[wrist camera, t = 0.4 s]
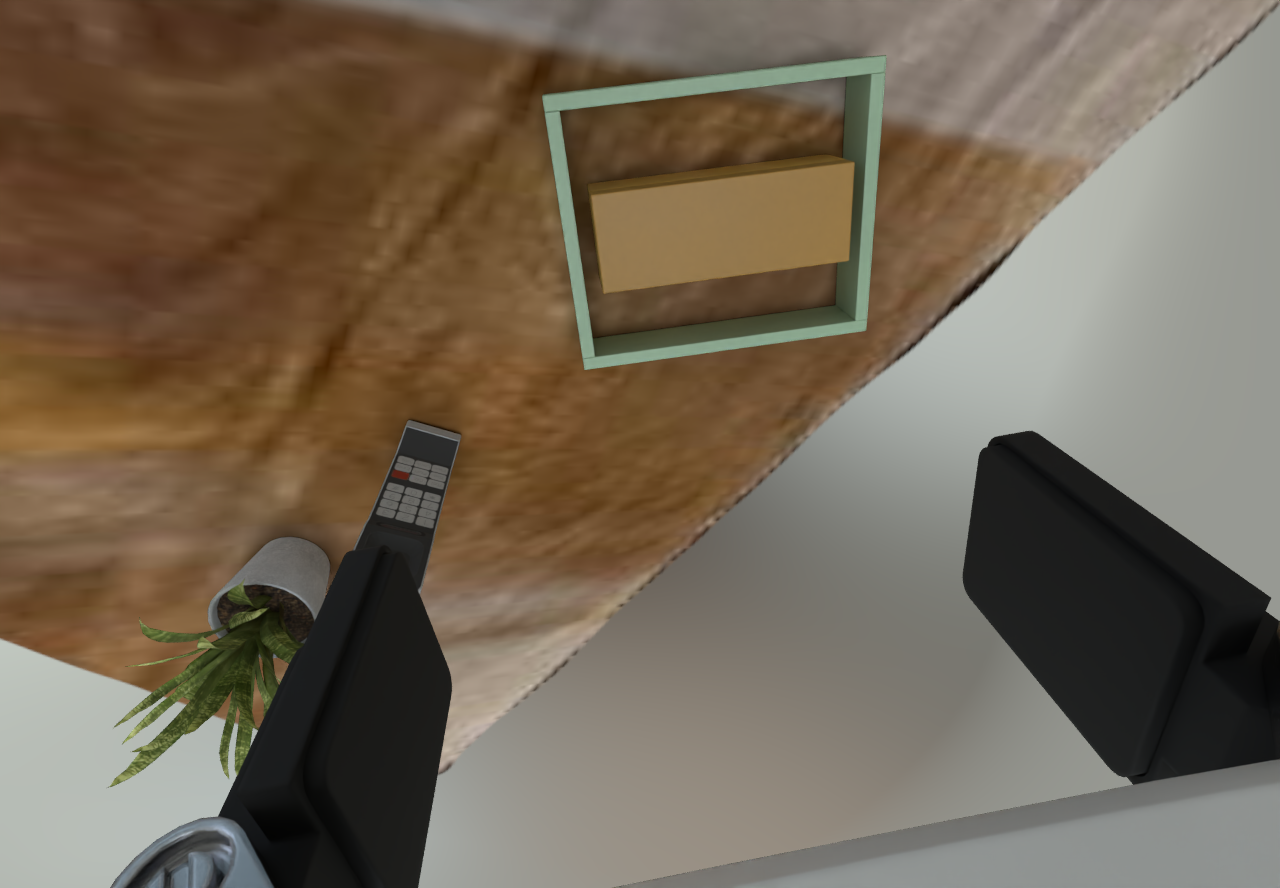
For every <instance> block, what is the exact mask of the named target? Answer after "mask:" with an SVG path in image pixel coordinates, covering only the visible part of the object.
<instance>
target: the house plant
mask: <svg viewBox="0 0 1280 888" xmlns="http://www.w3.org/2000/svg"><path fill="white" fill-rule="evenodd" d="M329 572H330V563H329V560H328V557H327V556H326V554H325V553H324V551H323V550H322V549H320V548H319V547H318V546H317V545H315V544H313V543H312V542H310V541H307V540H304V539H301V538H295V537H282V538H278V539H275V540H272V541H270V542H269V543H267V544H265V545H264V547H263V548H262V549H261V550H260V551H259V552H258V553H257V554H256V555H255V556H254V557H253V558H252V559H251V560H250V561H249V562H248V563H247V564H246V565H245V566H244V567H243V568H242V569H241V570H240V571H239V572H238V573H237V574H236V575H235V576H234V577H233V578H232V579H231V580H230V581H229V582H228V583H227V584H226V585H225V586H224V587H223V588H222V589H221V590H220V591H219V592H218V593H217V594H216V596H215V597H214V598H213V599H212V600H211V602H210V605H209V608H208V621H209V624H210V626H211V628H212V630H213V631H208V632H204V633H199V634H184V633H173V632H166V631H161V630H157V629H152V628H148V627H147V626H146V625H144V624H143V623H141V621H140V626H141V629H142V632H143V634H144V635H145V636H147V637H148V638H150V639H152V640H155V641H158V642H167V643H170V642H188V641H194V640H198V639H199V641H198V644H197V647H198V648H200V649H198V650H195V651H193V652H191V653H188V654H185V655H181V656H177V657H173V658H170V659H166V660H162V661H158V662H153V663H147V664H140V665H133V666H142V665H154V664H158V663H162V662H165V661H169V660H173V659H177V658H182V657H186V656H189V655H193V654H196V653H198V652H201V651H203V650H206V649H208V648H210V649H209V650H208V651H206V652H205V653H204V654H202V655H201V656H199V657H198V658H197V659H195V660H194V661H193V662H191V663H190V664H189V665H188V666H187V668H186V670H185V671H184V672H182V673H181V674H179V675H178V676H176V677H175V678H173V679H172V680H170V681H168V682H167V683H165V684H164V685H163V686H161V687H160V688H158V689H157V690H155V691H154V692H153V693H151V694H150V695H149V696H148V697H147V698H145V699H144V700H143V701H142V702H141V703H140V704H139V705H137V706H136V707H135V708H134V709H133V710H132V711H131V712H129V713H128V714H127V715H126V716H125V717H124V718H123V719H122V720H121V721H120V722H119V723H118V724H117V725H116V726H118V725H119V724H121V723H123V722H125V721H127V720H128V719H130V718H131V717H133V716H134V715H136V714H137V713H138V712H140V711H142V710H144V709H146V708H148V707H149V706H151V705H153V704H154V703H155V702H156V701H158V700H159V699H161V698H162V697H163V696H164V695H166V694H167V693H168V692H170V691H171V690H173V689H174V688H175V687H177V686H178V685H180V684H181V683H183V682H184V681H185V680H188V681H186V682H184V683H183V684H181V685H180V686H178V687H177V689H176V690H175V693H173V694H172V695H171V696H169V697H168V698H167V699H165V700H164V701H163V702H161V703H160V704H159V705H158V706H157V707H155V708H154V709H153V710H152V711H151V712H150V713H149V714H148V715H147V716H146V717H145V718H144V719H143V720H142V721H141V722H140V723H139V724H138V725H137V726H136V727H135V728H134V730H133V731H132V732H131V733H130V734H129V736H128V737H127V738H126V739H125V741H124V742H126V741H127V740H129V739H130V738H132V737H133V736H135V735H136V734H137V733H138V732H139V731H140V730H142V729H143V728H145V727H147V726H148V725H150V724H151V723H152V722H154V721H155V720H156V719H157V718H158V717H159V716H160V715H161V714H163V713H164V712H165V711H166V710H167V709H168V708H169V707H170V706H172V705H173V704H174V703H175V702H177V701H178V700H179V699H180V698H182V697H184V698H186V699H188V700H191V701H190V702H189V703H188V704H187V705H186V706H185V708H184V709H183V710H182V711H181V712H180V713H179V714H178V715H177V717H176V718H175V719H174V720H173V721H172V722H171V723H170V724H169V725H168V726H167V727H166V728H165V729H164V730H163V731H162V732H161V733H160V734H159V735H158V736H157V737H156V738H155V739H154V740H153V741H152V742H150V743H149V744H148V745H146V746H143V747H140V748H138V749H136V750H135V751H132V752H139V751H141V752H140V753H139V754H138V756H137V757H136V758H135V759H134V761H133V762H132V763H131V764H130V766H129V767H128V768H127V769H126V770H125V771H124V772H123V773H121V774H120V775H119V776H118V777H116V778H115V780H114V781H113V783H112V784H111V786H110V787H112V786H114V785H117V784H119V783H121V782H123V781H125V780H127V779H129V778H131V777H132V776H134V775H136V774H137V773H139V772H140V771H142V770H143V769H144V768H146V767H147V766H148V765H149V764H151V763H152V762H153V761H155V760H156V759H157V758H158V757H159V756H160V755H161V754H162V753H164V752H165V751H166V750H167V749H168V748H169V747H170V746H171V745H172V744H174V743H175V742H176V741H177V740H178V739H179V738H180V737H181V736H182V735H183V734H188V733H190V732H193V731H195V730H196V729H198V728H199V727H200V726H201V725H202V724H203V723H204V722H205V721H207V720H208V719H209V718H210V717H211V716H213V715H214V714H215V713H216V712H217V711H218V710H219V709H220V707H221V706H222V704H223V703H224V701H225V700H226V698H227V697H228V695H229V694H230V692H231V691H232V695H231V701H230V707H229V711H228V715H227V719H226V723H225V726H224V730H223V735H222V739H221V745H220V752H219V754H220V761H221V764H222V767H223V771H224V773H225V774H226V776H227V777H228V778H229V774H228V751H229V743H230V738H231V734H232V730H233V726H234V722H235V717H236V711H237V706H238V708H239V711H240V717H239V725H238V732H237V740H236V750H235V771H236V774H237V775H238V773H239V771H240V768H241V766H242V764H243V762H244V760H245V758H246V756H247V754H248V751H249V749H250V743H251V736H252V729H253V727H254V728H255V729H257V730H259V729H258V728H257V727H256V726H255V723H254V719H253V714H252V706H253V692H254V680H255V674H256V680H257V685H258V689H259V691H260V694H261V696H262V699H263V701H264V717H265V715H266V713H267V711H268V709H269V706H270V704H271V702H272V700H273V698H274V696H275V694H276V691H277V689H278V687H279V684H278V682H277V680H276V678H277V677H276V676H275V672H274V664H273V658H277V657H278V658H280V659H282V660H284V661H285V662H287V663H289V664H290V661H291V659H292V658H293V656H294V654H295V653H296V651H297V650H298V649H299V648H301V647H302V646H303V645H304V643H305V641H306V639H307V637H308V634H309V632H310V630H311V628H312V626H313V624H314V621H315V619H316V617H317V615H318V613H319V610H320V608H321V606H322V604H323V602H324V599H325V593H326V588H327V583H328V578H329ZM139 619H140V617H139ZM213 634H216V635H217V636H218V638H219V639H218V640H216V641H214V642H212V643H210V642H209V641H208V640H206V639H205V638H206V637H208V636H210V635H213ZM259 657H261V659H262V662H263V676H264V681H263V678H262V675H261V670H260V665H259ZM126 667H130V666H126ZM277 679H278V678H277ZM278 681H279V682H280V683H281V681H280V680H279V679H278ZM264 683H265V684H264ZM232 689H233V690H232ZM116 726H115V727H116ZM124 742H123V743H124Z"/></svg>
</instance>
